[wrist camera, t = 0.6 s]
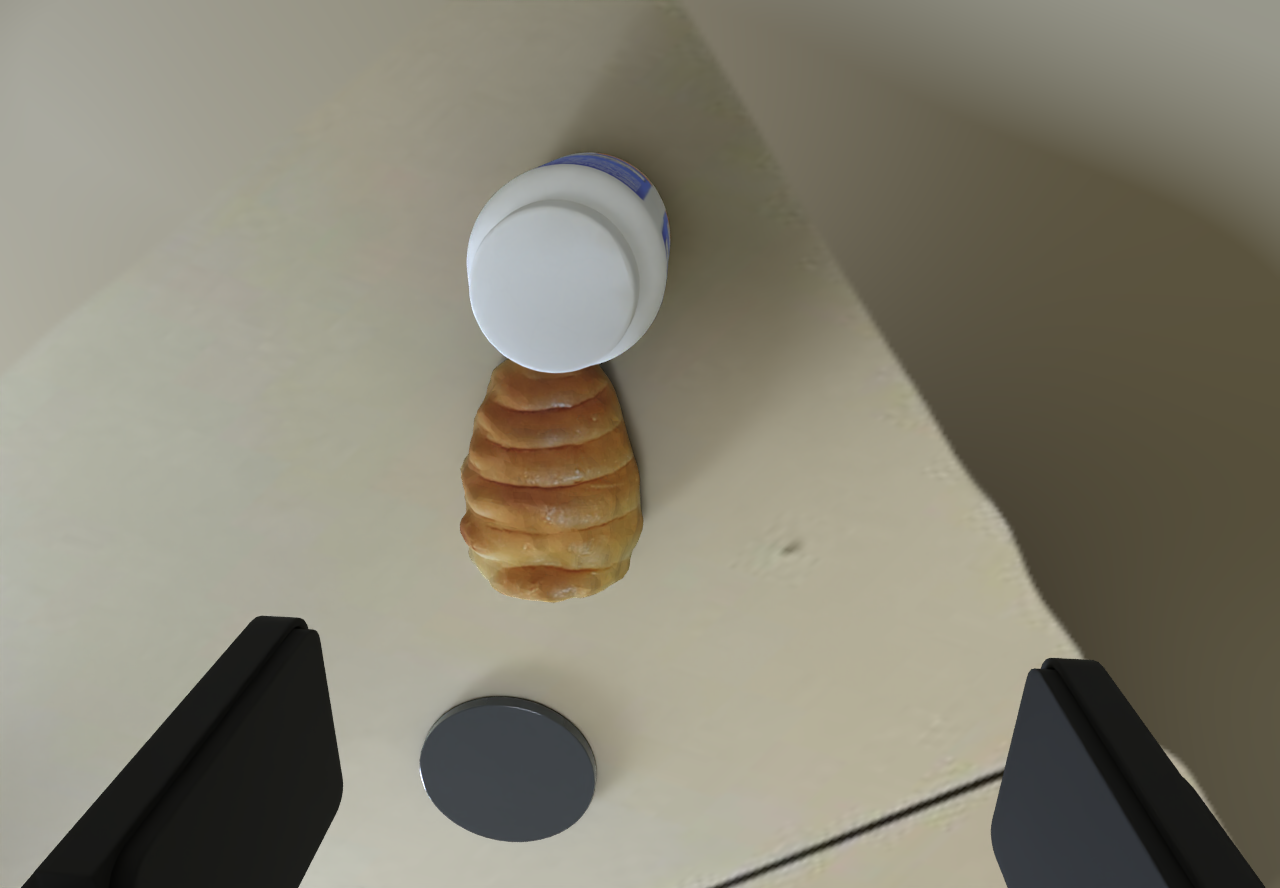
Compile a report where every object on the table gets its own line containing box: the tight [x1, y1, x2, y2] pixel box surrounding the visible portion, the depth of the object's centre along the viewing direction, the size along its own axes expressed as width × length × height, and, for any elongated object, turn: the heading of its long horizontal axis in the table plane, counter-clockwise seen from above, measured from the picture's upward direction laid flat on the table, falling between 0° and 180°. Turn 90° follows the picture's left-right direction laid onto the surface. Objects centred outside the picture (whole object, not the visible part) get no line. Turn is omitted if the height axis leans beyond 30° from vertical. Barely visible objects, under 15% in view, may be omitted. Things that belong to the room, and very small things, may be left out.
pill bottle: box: [467, 152, 671, 373], centre depth 24 cm, size 5×5×10 cm
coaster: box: [420, 697, 596, 842], centre depth 37 cm, size 8×8×1 cm
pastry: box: [460, 358, 643, 603], centre depth 30 cm, size 9×7×4 cm
